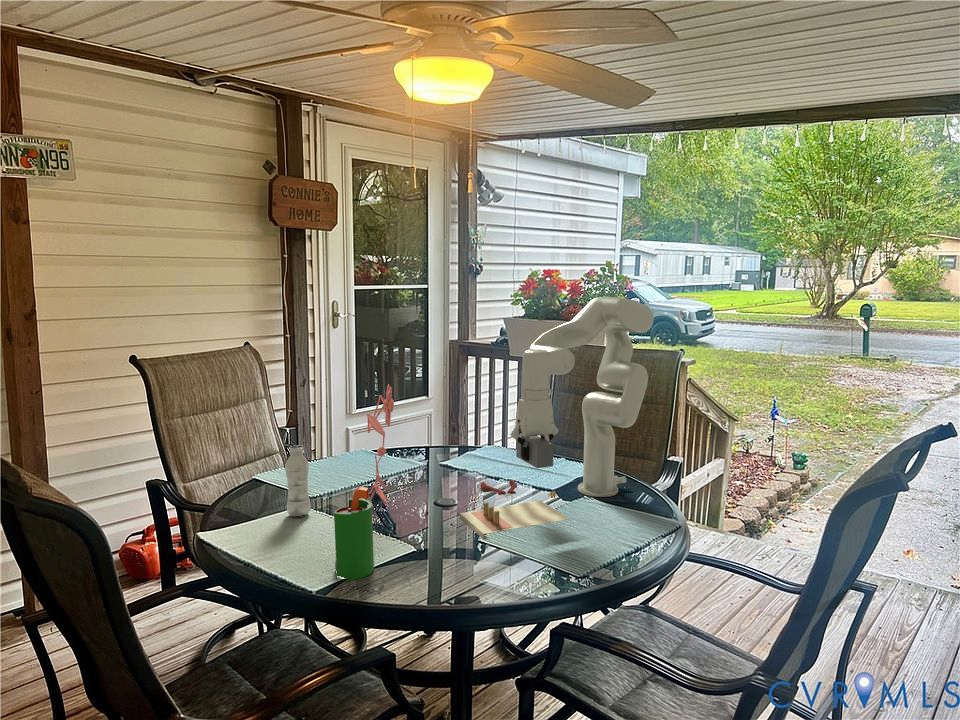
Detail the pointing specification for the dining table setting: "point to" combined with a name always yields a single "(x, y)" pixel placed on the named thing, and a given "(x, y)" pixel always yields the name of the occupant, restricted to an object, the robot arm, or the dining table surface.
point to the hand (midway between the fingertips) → (534, 458)
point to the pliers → (489, 489)
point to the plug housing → (538, 452)
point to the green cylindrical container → (354, 537)
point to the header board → (510, 517)
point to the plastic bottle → (297, 482)
